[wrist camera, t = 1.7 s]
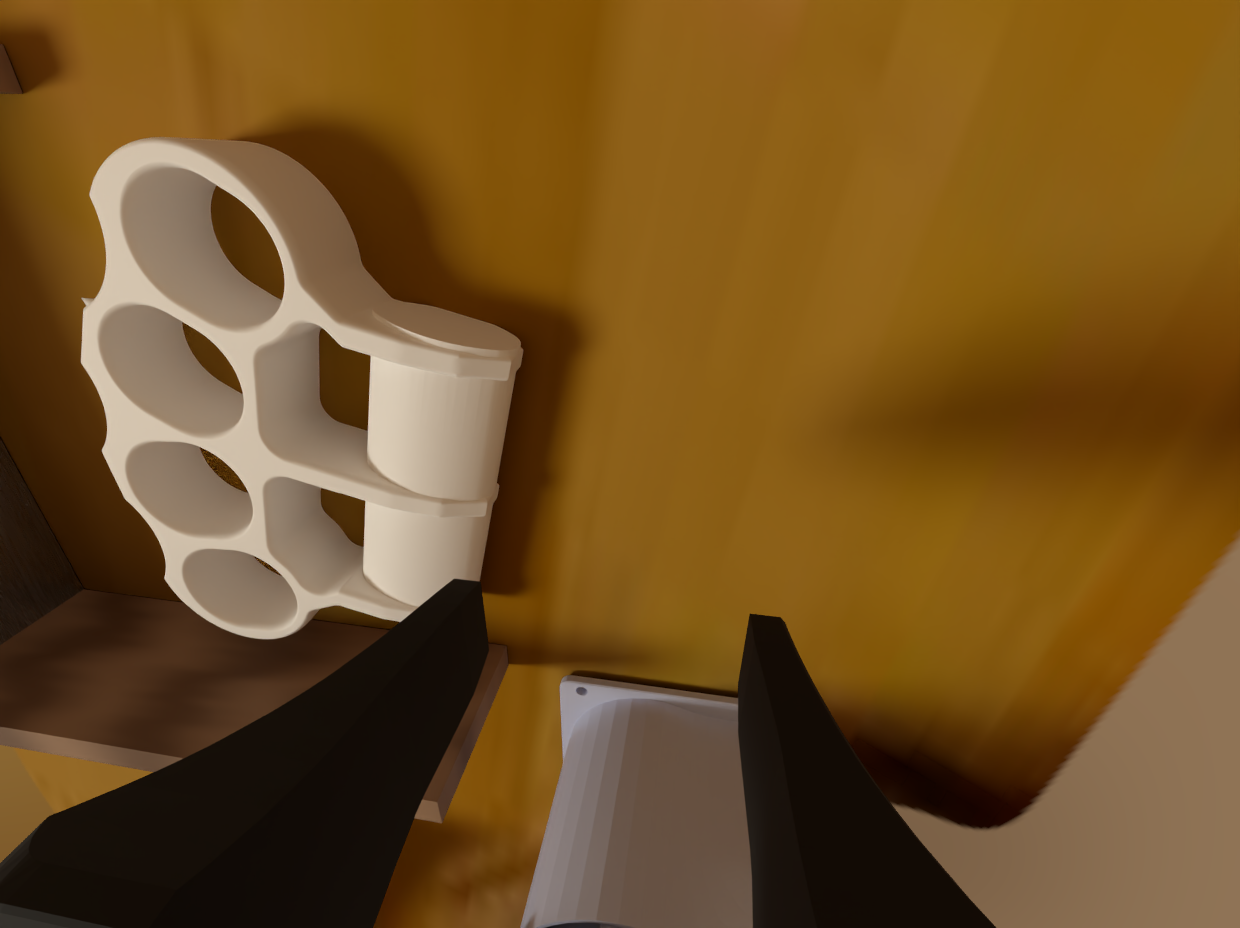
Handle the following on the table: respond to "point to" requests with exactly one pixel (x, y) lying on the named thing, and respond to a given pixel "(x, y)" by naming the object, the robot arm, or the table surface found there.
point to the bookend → (27, 557)
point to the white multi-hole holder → (284, 398)
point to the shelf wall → (179, 676)
